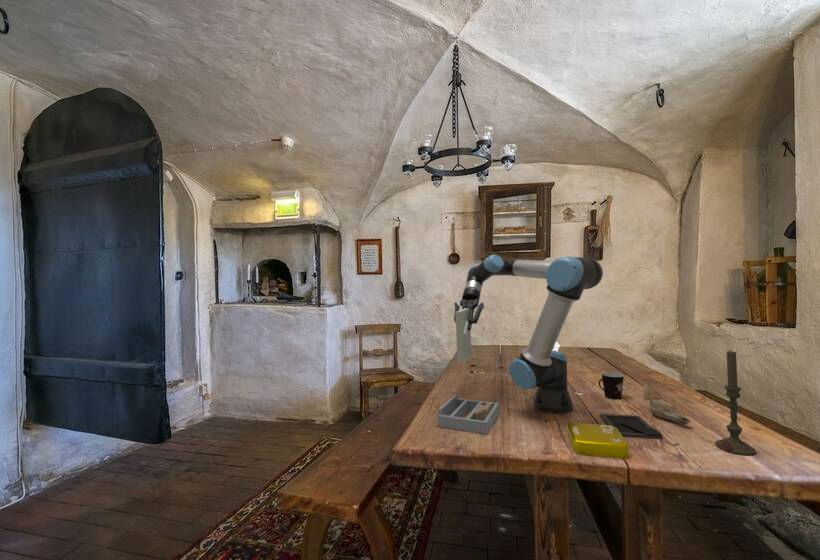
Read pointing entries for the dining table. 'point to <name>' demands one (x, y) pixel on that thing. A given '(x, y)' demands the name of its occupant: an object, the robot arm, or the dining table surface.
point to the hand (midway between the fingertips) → (461, 335)
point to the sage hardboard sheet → (462, 335)
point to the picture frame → (631, 426)
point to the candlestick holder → (733, 413)
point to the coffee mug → (612, 384)
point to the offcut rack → (458, 407)
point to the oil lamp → (662, 407)
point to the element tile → (597, 440)
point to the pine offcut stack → (482, 412)
